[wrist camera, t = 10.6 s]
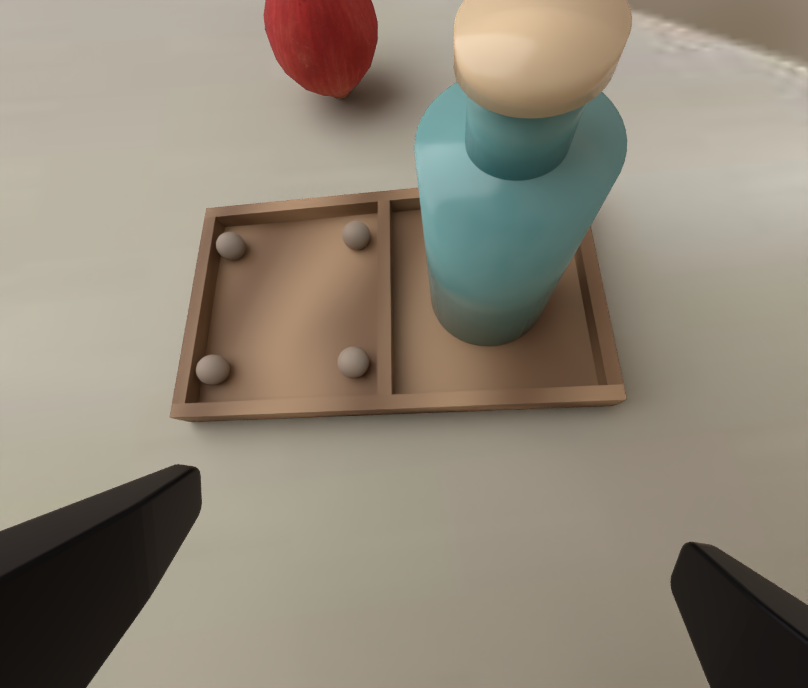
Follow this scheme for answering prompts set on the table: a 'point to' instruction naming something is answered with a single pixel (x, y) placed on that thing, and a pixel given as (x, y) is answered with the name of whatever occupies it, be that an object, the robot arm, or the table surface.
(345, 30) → the onion
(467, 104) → the bottle
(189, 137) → the table surface
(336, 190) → the table surface
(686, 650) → the table surface
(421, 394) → the double tray
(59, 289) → the table surface
